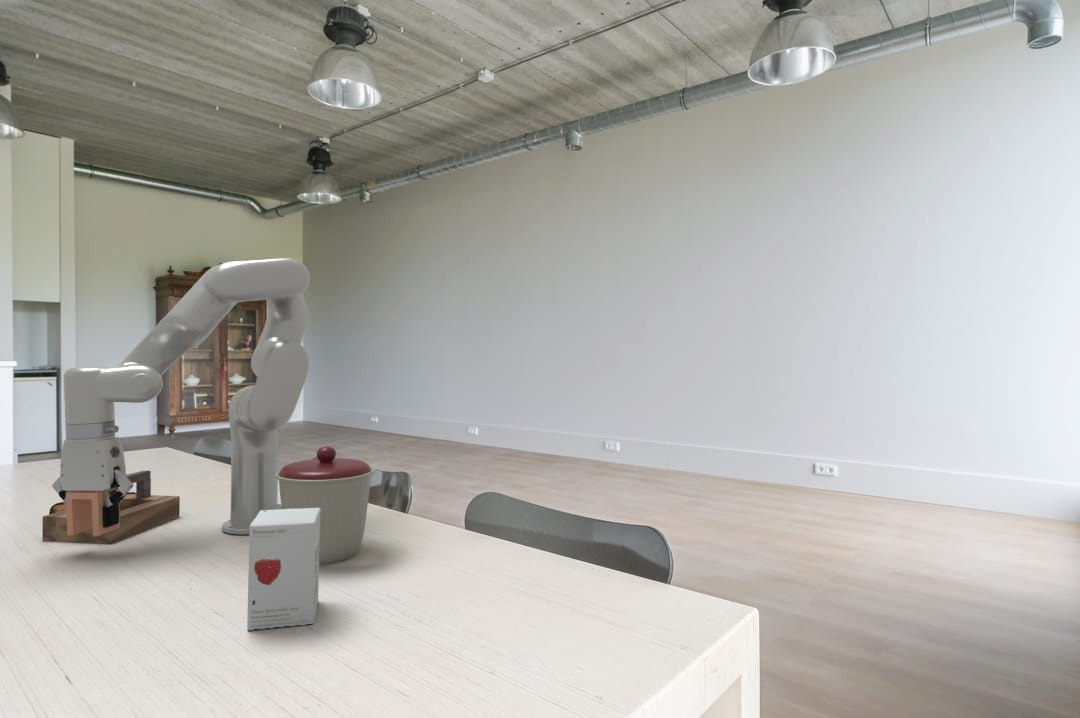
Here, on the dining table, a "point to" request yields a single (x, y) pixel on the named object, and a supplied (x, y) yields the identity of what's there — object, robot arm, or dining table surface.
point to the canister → (330, 499)
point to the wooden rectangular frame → (134, 515)
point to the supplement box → (283, 568)
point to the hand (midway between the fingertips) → (93, 524)
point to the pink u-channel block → (86, 513)
